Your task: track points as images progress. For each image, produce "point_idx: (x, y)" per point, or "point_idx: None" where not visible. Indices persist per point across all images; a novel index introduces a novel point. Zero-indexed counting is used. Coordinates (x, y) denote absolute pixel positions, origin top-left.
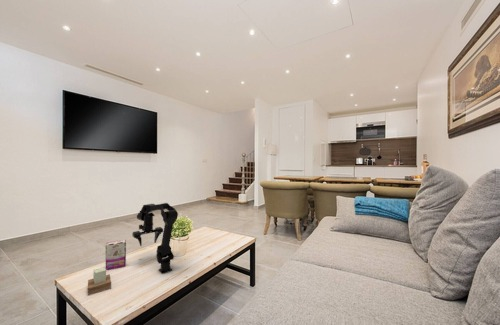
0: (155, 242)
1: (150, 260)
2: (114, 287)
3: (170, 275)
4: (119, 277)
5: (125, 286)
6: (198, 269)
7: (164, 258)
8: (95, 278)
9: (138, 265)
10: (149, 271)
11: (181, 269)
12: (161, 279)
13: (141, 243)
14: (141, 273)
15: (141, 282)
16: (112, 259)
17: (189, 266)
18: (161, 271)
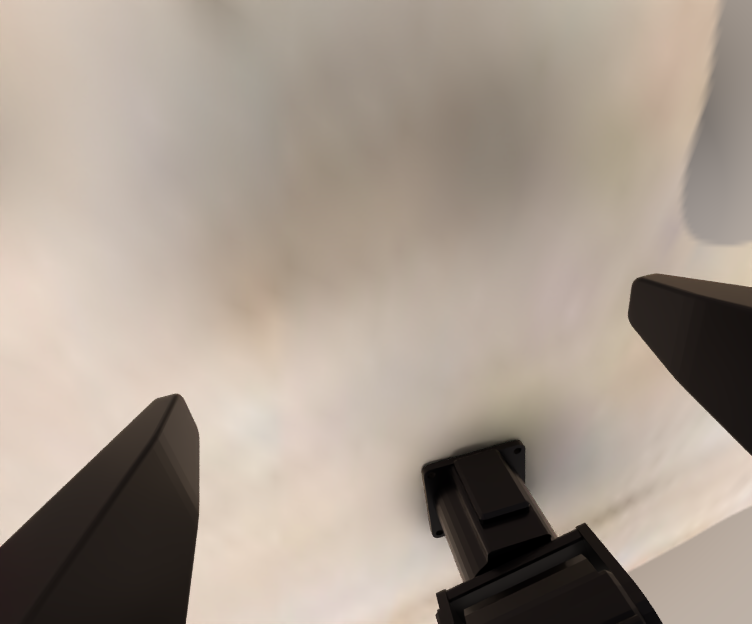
0: (652, 333)
1: (379, 172)
2: None
3: None
4: (2, 488)
5: None
6: (670, 535)
7: (525, 570)
8: None
9: (199, 269)
10: (333, 463)
11: (583, 506)
12: (407, 590)
13: (189, 570)
14: (252, 476)
15: (257, 597)
16: None
17: (654, 482)
18: (435, 515)
